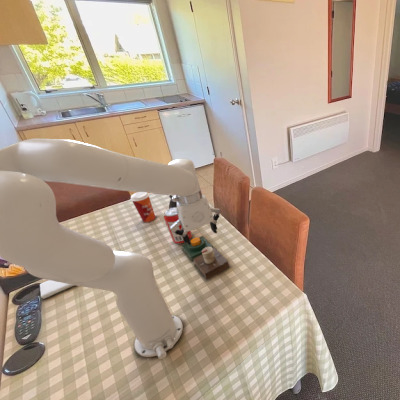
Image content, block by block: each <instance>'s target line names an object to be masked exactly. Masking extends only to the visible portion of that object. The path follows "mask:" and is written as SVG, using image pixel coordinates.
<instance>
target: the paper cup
mask: <svg viewBox="0 0 400 400" xmlns="http://www.w3.org/2000/svg"><path fill="white" fill-rule="evenodd" d="M130 201H132V204H133V205H134V207H135V209H136V211H137V213H138V215H139V217H140V219H141V220H142V222H144V223H150V222H153V221H154V220H155V219H156V213H155V211H154V208H153V205H152V202H151V197H150V193H149V192H133V194H131V195H130Z"/></svg>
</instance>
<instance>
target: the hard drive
mask: <svg viewBox="0 0 400 400" xmlns="http://www.w3.org/2000/svg"><path fill="white" fill-rule="evenodd" d="M74 286H75V285H71V284H66V283H61V282H57V281H52V280H46V281H44V282H42V283H39V291H40V297H41V299H42V300H44V299H48V298H50V297H52V296H53V295H56V294H59V293H61V292H63V291H65V290H67V289H69V288H72V287H74Z"/></svg>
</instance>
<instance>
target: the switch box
mask: <svg viewBox="0 0 400 400" xmlns="http://www.w3.org/2000/svg"><path fill="white" fill-rule="evenodd" d="M199 238H200V241H201V243H200V244H199V245H197V246H192V244H190V245H188V244H187V243H183V244H182V245H181V247H182V250H183V251H184V252H185V254H186V255H187V256H188V257H189V259H190V260H191V262H194V260H193V259H194V258H196V257H198V256H200V255H202V250H203V249H204V248H206V247H212V248H213V249H214V247H213V245H212V244H211V243H210V242H209V241H208V240H207V239H206V238H205V237H204V236H203V235H202V236H200V237H199ZM190 243H191V240H190Z"/></svg>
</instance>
